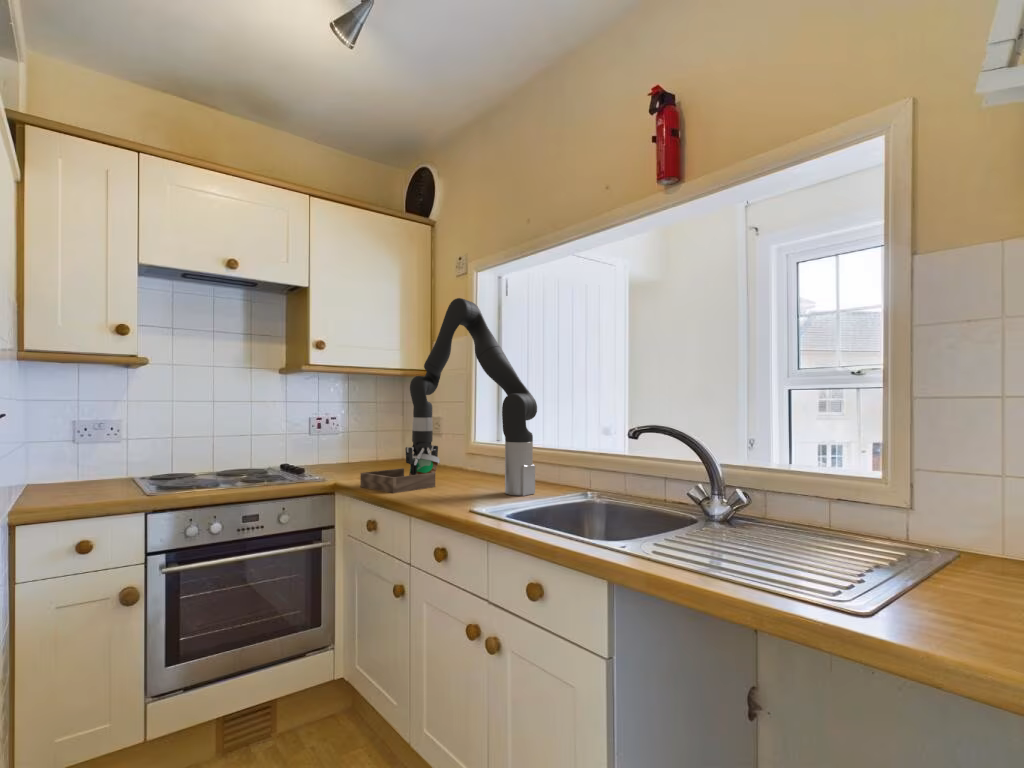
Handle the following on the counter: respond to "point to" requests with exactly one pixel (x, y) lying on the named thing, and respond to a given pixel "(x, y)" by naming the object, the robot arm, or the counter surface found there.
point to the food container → (426, 464)
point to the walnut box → (396, 481)
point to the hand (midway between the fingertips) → (421, 474)
